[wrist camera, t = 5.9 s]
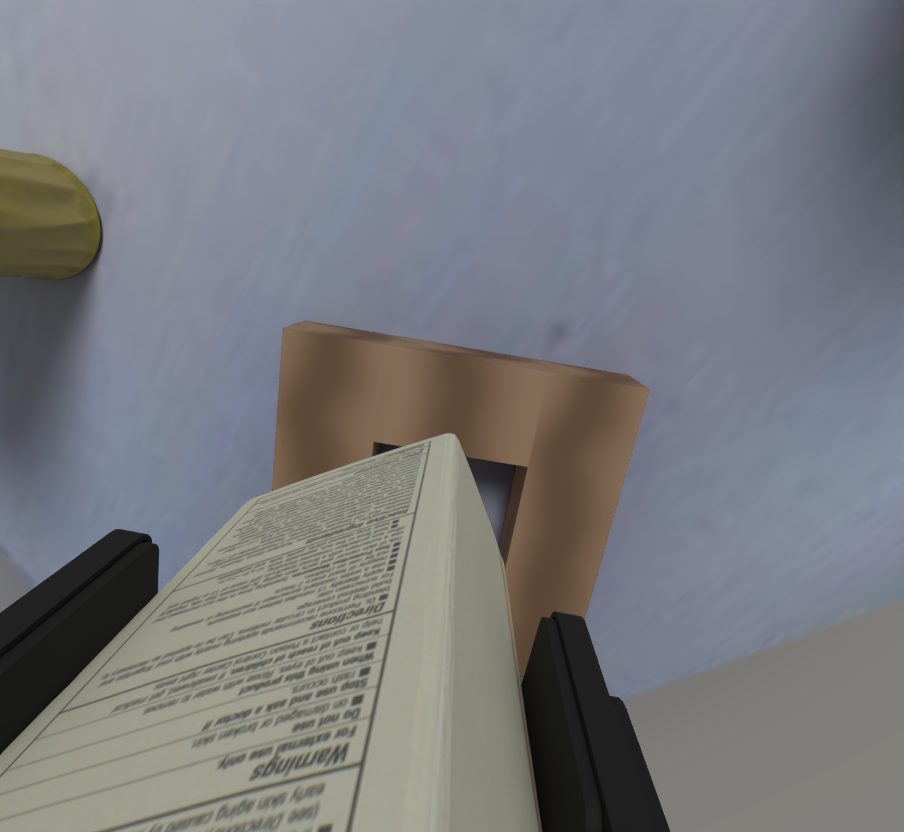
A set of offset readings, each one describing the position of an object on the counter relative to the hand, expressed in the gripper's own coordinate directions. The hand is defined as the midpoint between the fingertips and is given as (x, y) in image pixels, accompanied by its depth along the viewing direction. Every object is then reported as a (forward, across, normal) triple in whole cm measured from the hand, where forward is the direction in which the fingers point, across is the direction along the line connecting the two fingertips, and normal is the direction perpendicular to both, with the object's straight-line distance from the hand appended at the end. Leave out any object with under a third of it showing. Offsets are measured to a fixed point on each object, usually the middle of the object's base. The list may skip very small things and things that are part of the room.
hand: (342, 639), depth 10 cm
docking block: (+20, -2, +6) cm, 20 cm away
